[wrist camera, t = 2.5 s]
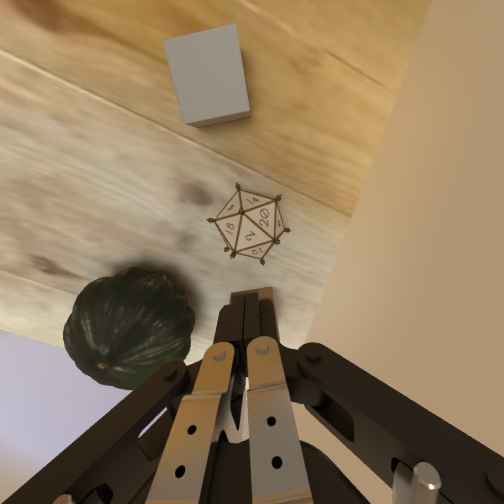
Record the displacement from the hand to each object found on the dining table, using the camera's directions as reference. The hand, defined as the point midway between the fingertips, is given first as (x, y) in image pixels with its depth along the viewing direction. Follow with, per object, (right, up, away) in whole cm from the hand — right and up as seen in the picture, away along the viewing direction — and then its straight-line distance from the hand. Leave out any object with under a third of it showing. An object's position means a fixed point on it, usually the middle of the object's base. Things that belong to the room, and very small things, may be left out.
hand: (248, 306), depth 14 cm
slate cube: (-3, +20, +12) cm, 24 cm away
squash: (-15, -4, +23) cm, 28 cm away
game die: (0, +8, +18) cm, 19 cm away
